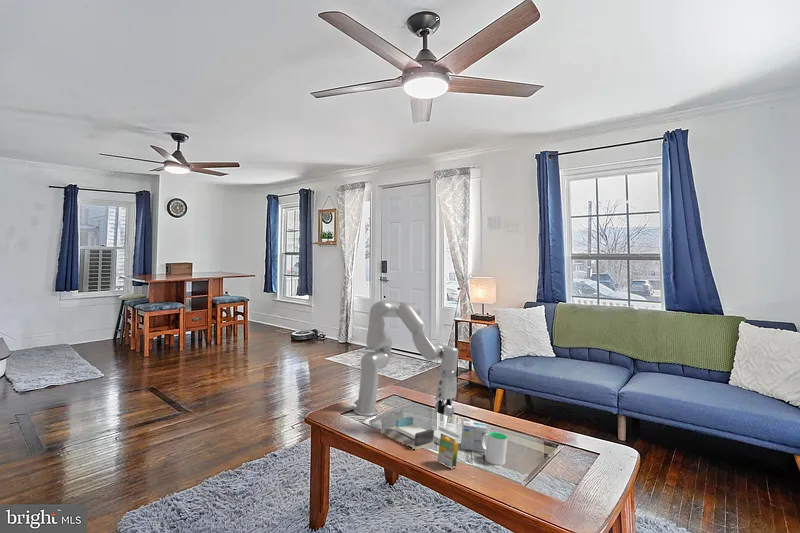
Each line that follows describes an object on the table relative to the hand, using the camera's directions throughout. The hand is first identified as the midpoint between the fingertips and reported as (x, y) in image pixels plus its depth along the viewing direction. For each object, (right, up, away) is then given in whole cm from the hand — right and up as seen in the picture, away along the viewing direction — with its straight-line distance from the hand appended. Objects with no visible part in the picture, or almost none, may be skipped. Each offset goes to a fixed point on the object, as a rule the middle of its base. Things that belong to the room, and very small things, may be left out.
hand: (444, 412), depth 185 cm
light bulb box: (+12, -13, -8) cm, 20 cm away
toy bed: (-15, -8, -9) cm, 19 cm away
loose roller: (0, -1, 0) cm, 1 cm away
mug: (+18, -13, -18) cm, 29 cm away
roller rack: (-2, -12, -1) cm, 12 cm away
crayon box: (-2, -10, -30) cm, 31 cm away
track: (-18, -9, -7) cm, 21 cm away
